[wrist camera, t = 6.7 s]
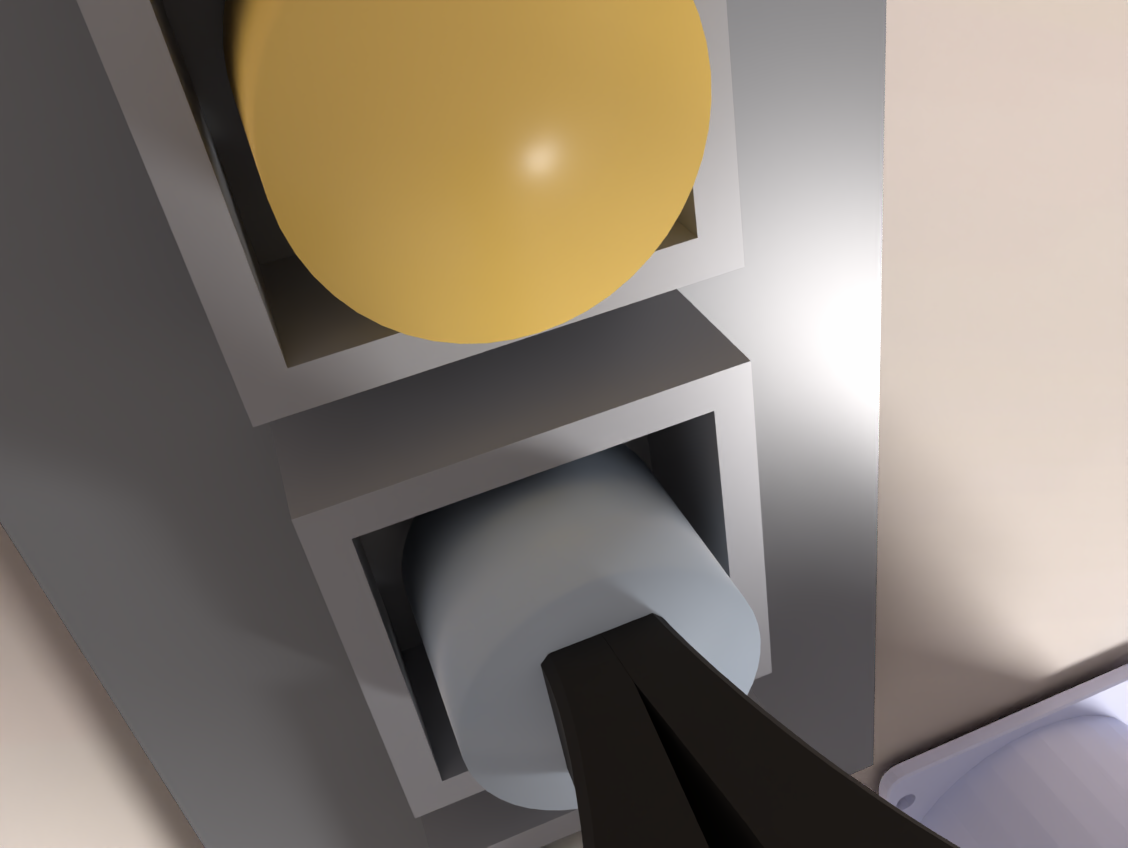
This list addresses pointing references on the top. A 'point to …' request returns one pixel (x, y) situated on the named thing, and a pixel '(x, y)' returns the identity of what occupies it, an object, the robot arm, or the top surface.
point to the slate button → (557, 604)
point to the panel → (411, 416)
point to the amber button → (472, 149)
